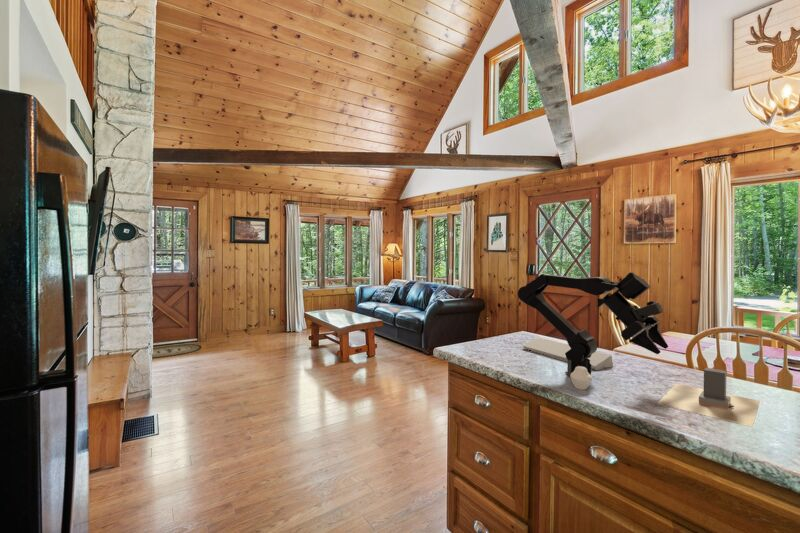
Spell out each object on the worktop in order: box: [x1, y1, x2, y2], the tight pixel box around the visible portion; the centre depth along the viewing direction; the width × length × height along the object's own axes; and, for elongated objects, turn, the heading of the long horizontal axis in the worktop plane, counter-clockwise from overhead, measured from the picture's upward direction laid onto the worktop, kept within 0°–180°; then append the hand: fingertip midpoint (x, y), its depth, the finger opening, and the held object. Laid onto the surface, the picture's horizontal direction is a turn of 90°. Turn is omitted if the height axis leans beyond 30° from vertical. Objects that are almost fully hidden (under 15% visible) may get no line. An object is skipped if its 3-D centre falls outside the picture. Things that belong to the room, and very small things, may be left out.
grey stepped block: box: [699, 367, 731, 410], centre depth 103 cm, size 6×6×9 cm
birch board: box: [657, 383, 760, 428], centre depth 104 cm, size 20×24×2 cm
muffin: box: [569, 366, 593, 391], centre depth 119 cm, size 6×6×7 cm
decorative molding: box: [522, 336, 614, 371], centre depth 154 cm, size 34×5×10 cm
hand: (663, 350), depth 111 cm, fingers open, 9 cm apart
